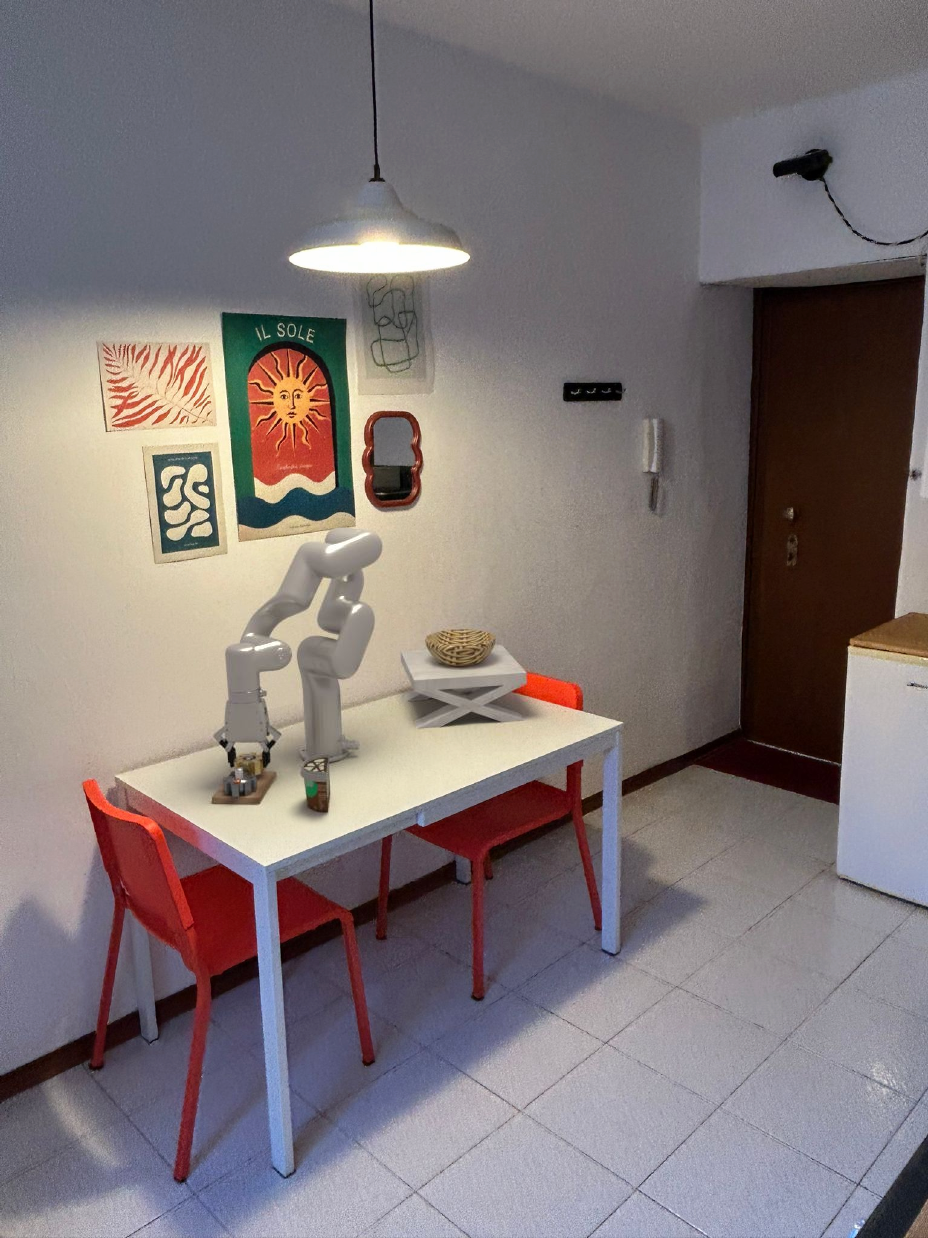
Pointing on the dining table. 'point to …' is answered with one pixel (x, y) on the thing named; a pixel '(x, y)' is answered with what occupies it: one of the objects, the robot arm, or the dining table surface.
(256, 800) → the gear board
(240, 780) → the gear
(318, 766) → the food container
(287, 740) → the dining table surface
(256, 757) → the wooden gear
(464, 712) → the stand with wicker basket
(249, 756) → the peg
